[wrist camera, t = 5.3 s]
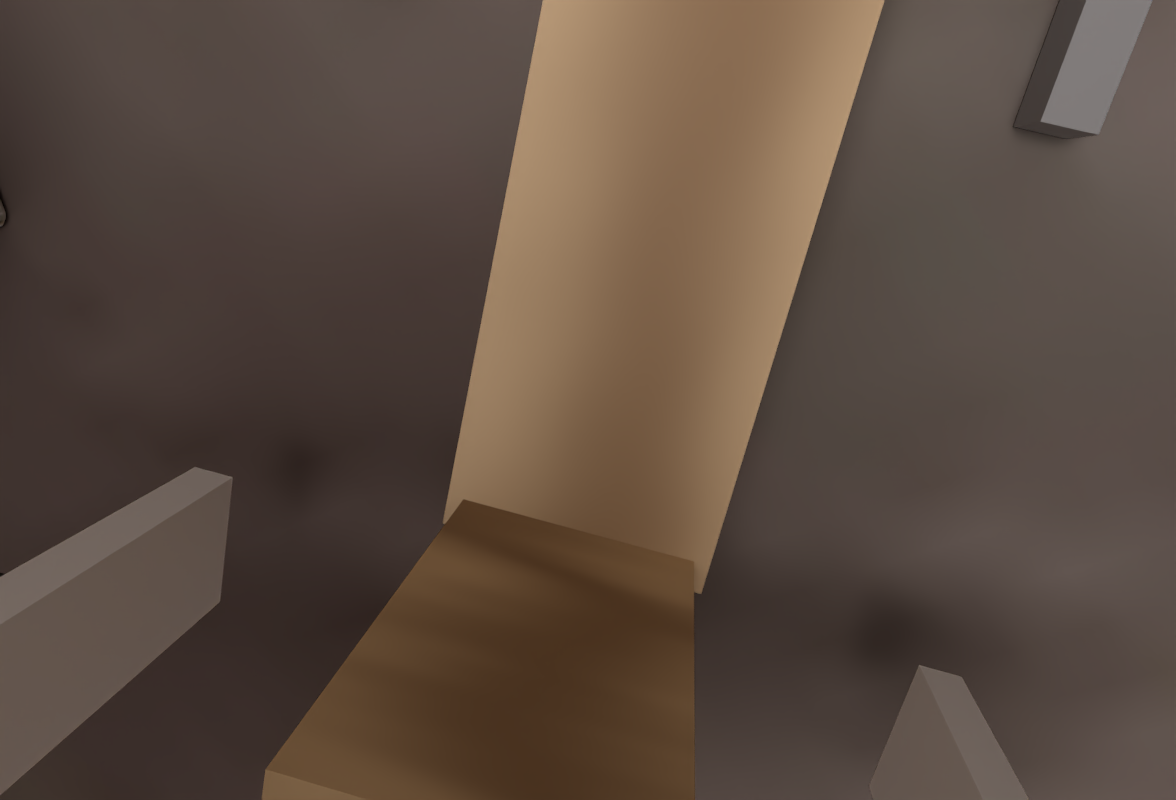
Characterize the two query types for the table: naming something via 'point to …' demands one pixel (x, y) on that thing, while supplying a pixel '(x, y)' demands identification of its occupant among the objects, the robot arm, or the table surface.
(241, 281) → the table surface
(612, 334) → the yellow l-shaped block
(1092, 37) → the channel
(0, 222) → the coffee box
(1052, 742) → the table surface
